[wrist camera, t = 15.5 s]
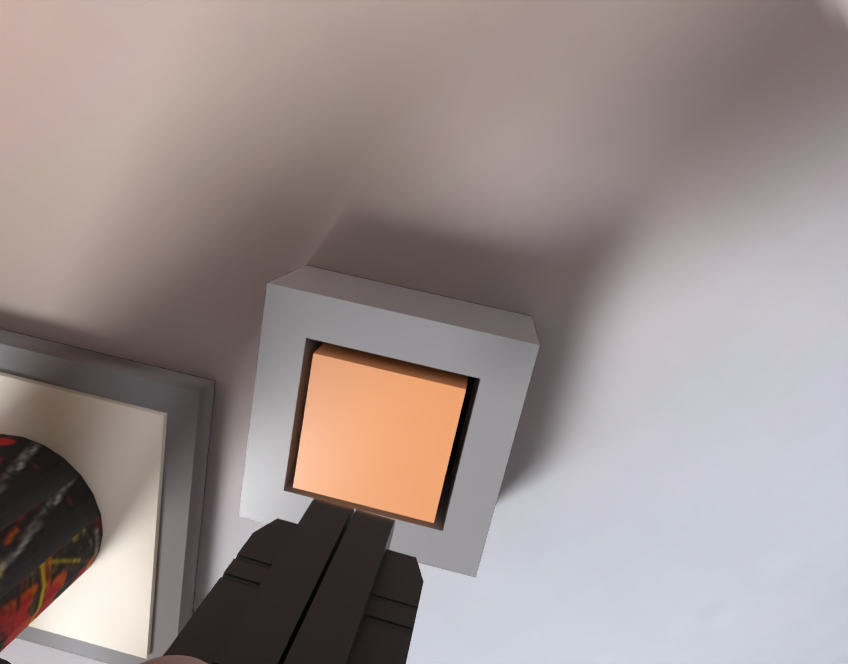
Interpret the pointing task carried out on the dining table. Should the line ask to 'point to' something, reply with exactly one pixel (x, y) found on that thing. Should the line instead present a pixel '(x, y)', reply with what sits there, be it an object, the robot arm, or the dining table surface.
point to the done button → (378, 430)
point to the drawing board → (117, 489)
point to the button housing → (404, 340)
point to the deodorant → (41, 531)
